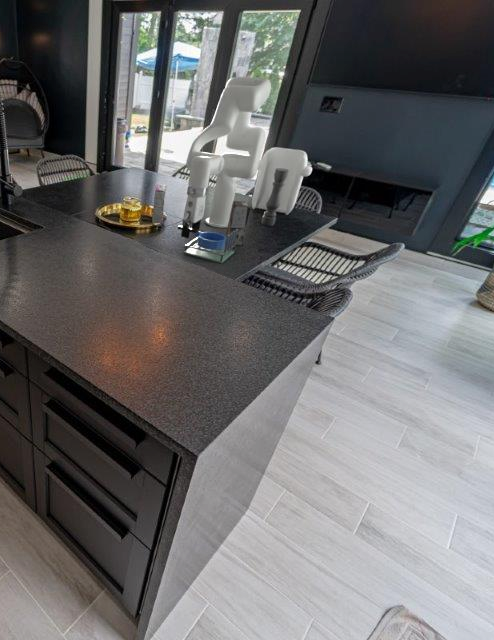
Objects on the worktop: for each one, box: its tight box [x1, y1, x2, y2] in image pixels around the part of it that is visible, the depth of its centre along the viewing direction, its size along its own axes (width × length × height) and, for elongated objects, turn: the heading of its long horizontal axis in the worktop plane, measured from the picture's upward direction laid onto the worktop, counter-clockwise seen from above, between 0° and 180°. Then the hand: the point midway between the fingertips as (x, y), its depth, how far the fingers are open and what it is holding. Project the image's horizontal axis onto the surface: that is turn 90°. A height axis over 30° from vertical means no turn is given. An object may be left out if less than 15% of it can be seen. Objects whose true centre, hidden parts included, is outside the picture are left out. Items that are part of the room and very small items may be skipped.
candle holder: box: [260, 168, 289, 227], centre depth 190 cm, size 6×6×25 cm
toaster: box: [251, 146, 313, 216], centre depth 208 cm, size 27×11×30 cm, turn 58°
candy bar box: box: [151, 184, 168, 227], centre depth 190 cm, size 11×5×16 cm, turn 168°
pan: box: [177, 224, 226, 250], centre depth 163 cm, size 11×20×5 cm, turn 54°
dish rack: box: [183, 229, 238, 264], centre depth 162 cm, size 14×16×10 cm
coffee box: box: [225, 200, 252, 246], centre depth 172 cm, size 9×6×16 cm
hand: (190, 233), depth 166 cm, fingers open, 9 cm apart
